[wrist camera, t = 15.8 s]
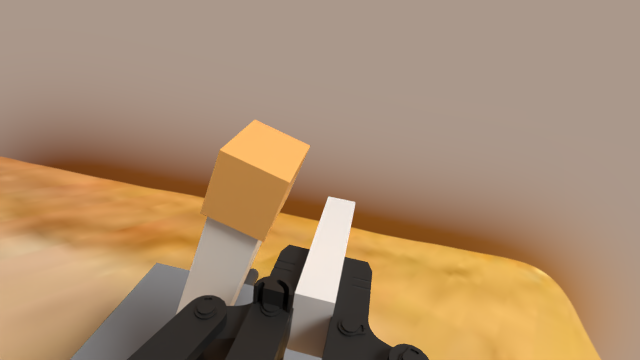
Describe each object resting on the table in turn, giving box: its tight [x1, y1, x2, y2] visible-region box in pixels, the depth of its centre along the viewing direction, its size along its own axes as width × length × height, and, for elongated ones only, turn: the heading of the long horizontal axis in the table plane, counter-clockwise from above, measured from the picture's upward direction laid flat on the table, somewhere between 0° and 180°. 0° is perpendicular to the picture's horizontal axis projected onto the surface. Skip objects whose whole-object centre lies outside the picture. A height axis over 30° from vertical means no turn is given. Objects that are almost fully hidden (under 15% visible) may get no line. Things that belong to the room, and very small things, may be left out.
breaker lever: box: [176, 120, 310, 314], centre depth 15 cm, size 4×2×15 cm, turn 171°
